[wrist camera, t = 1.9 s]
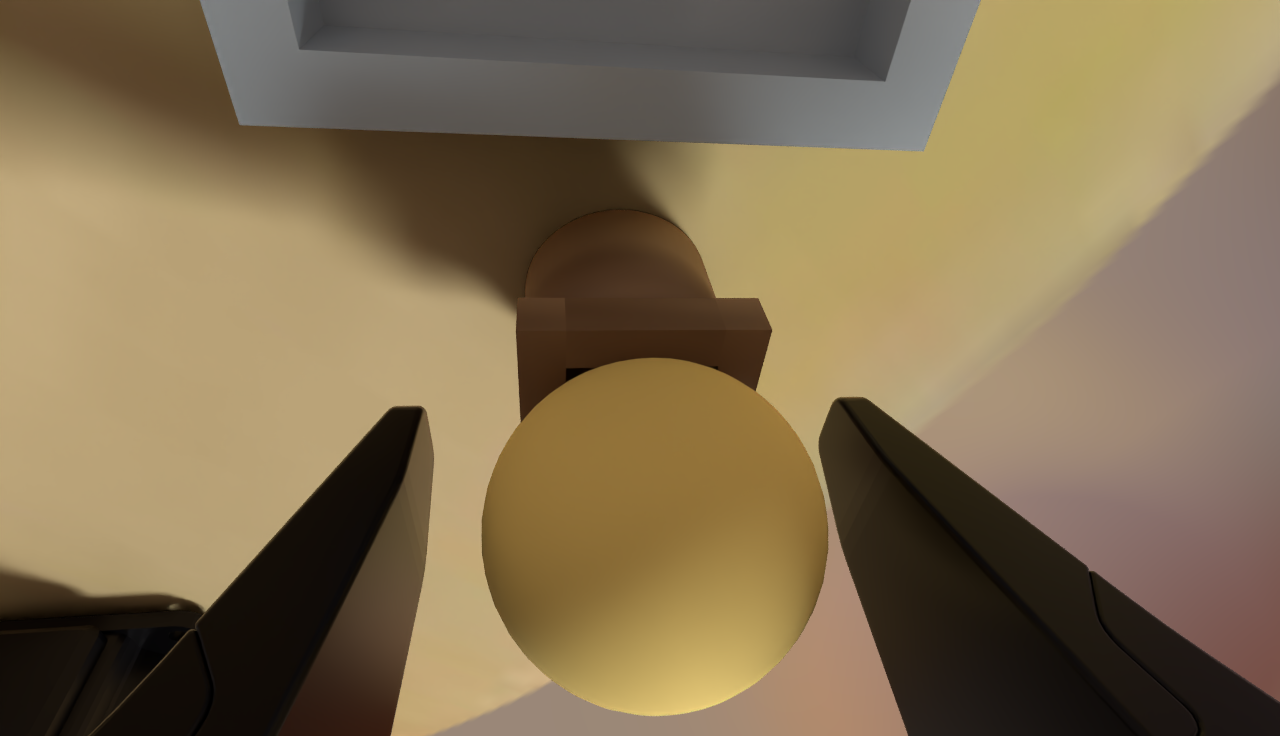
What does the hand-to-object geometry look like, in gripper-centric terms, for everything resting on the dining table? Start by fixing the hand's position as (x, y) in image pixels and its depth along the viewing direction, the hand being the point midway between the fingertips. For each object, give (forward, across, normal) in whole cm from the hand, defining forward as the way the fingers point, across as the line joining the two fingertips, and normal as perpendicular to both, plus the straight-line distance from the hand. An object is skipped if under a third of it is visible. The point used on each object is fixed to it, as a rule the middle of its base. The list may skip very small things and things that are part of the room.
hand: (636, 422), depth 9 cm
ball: (-2, 0, 0) cm, 2 cm away
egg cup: (+3, 0, 0) cm, 3 cm away
